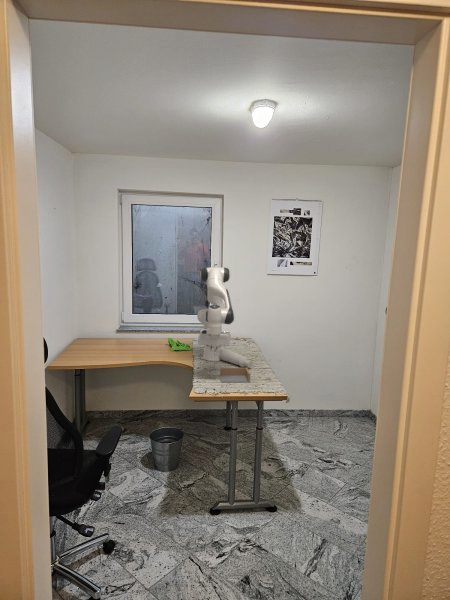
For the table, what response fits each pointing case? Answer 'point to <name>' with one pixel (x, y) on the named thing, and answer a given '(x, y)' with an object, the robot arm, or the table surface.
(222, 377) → the tray
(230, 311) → the robot arm
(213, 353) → the bracket
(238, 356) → the bottle
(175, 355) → the table surface
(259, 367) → the table surface
